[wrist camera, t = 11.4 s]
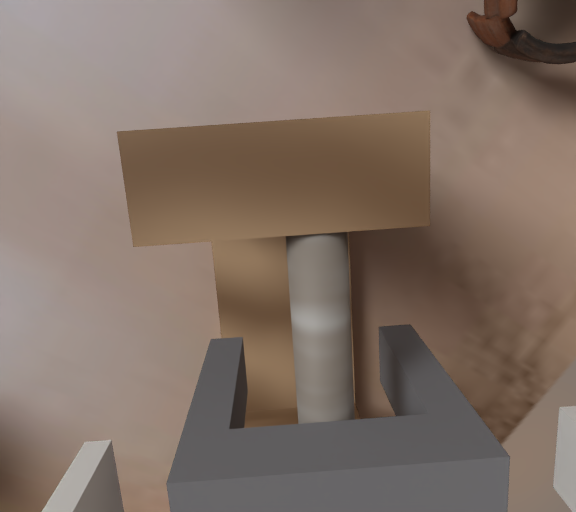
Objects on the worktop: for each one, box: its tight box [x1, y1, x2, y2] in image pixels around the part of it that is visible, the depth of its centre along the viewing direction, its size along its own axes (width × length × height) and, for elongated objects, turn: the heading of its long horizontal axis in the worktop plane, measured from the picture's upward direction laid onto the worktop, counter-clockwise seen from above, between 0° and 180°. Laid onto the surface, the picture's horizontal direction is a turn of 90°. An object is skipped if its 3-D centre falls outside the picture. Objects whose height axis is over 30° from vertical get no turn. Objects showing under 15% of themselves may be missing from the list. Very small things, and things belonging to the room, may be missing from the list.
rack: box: [117, 111, 430, 428], centre depth 22 cm, size 20×8×16 cm, turn 4°
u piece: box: [167, 324, 510, 512], centre depth 17 cm, size 9×3×9 cm, turn 94°
